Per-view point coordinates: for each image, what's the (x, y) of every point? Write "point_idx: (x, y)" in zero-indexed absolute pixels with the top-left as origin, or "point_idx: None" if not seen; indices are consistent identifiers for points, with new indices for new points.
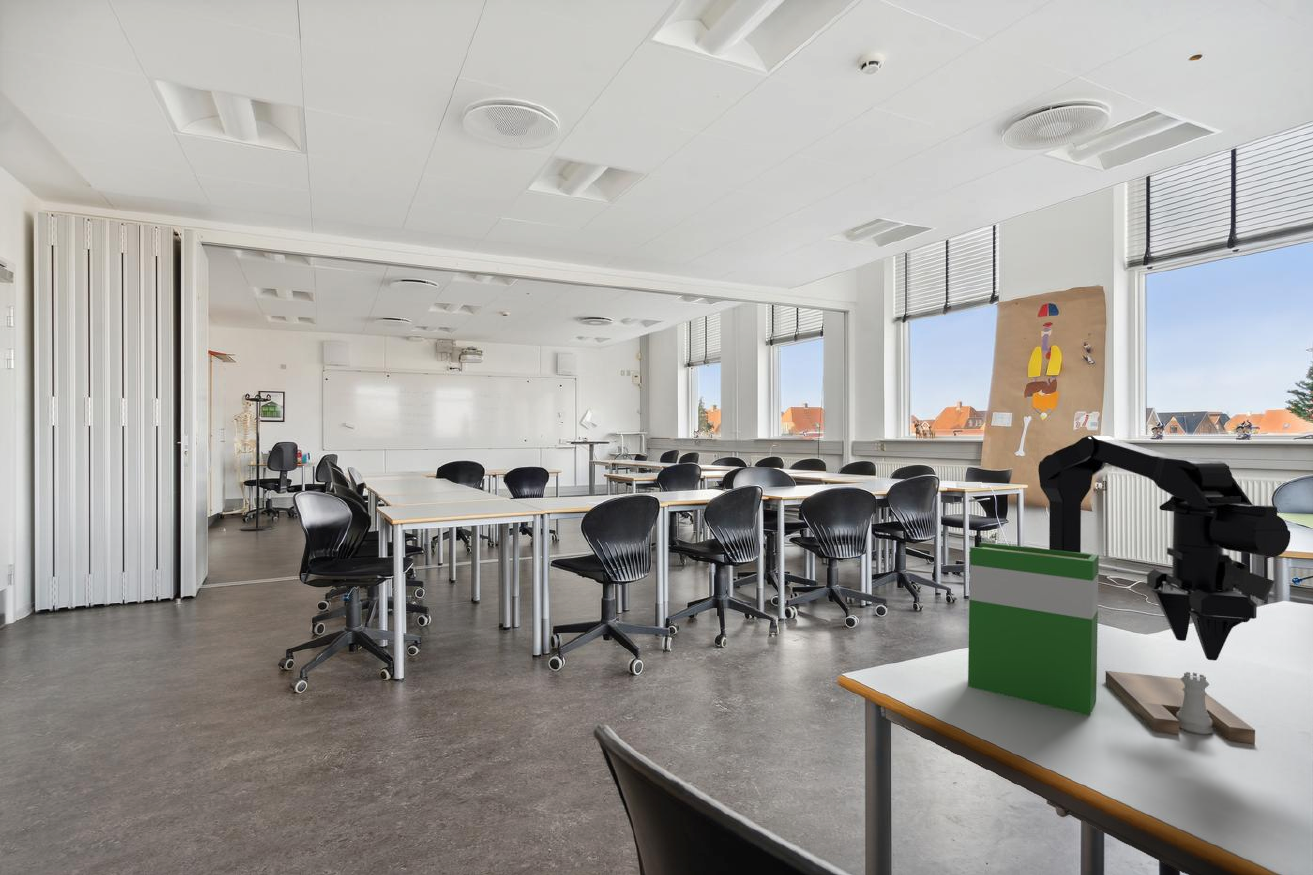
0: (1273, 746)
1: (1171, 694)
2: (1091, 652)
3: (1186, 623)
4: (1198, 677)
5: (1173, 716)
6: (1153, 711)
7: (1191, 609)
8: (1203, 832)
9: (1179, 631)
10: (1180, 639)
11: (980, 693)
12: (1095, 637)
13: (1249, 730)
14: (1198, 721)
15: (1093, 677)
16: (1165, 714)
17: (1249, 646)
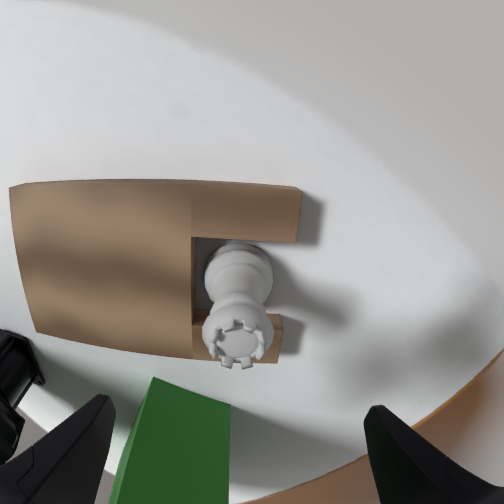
0: (297, 152)
1: (111, 272)
2: (226, 497)
3: (78, 452)
4: (239, 336)
5: None
6: None
7: (32, 494)
8: (480, 365)
9: (102, 437)
10: (114, 410)
11: None
12: (158, 496)
13: (300, 202)
14: (269, 290)
15: (190, 438)
16: None
17: None
